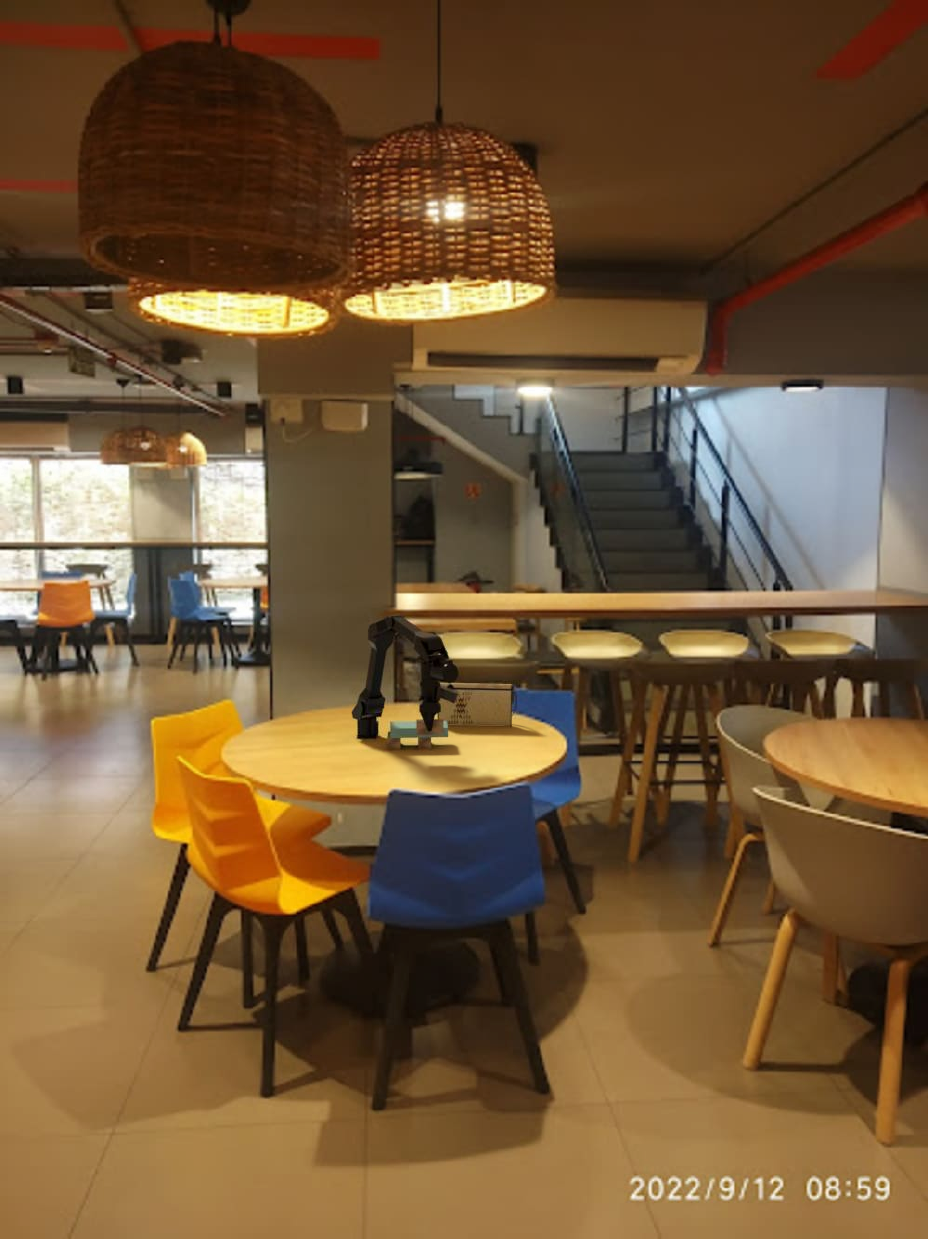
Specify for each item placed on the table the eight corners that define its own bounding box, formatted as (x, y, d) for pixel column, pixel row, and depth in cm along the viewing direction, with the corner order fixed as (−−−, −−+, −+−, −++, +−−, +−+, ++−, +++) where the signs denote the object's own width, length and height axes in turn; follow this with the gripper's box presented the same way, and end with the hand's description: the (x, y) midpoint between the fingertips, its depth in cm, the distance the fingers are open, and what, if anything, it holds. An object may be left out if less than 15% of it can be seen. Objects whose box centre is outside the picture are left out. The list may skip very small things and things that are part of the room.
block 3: (418, 749, 278) (418, 737, 278) (417, 743, 286) (418, 730, 285) (431, 749, 278) (431, 737, 278) (430, 742, 286) (430, 730, 286)
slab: (390, 738, 277) (390, 728, 276) (390, 730, 285) (390, 721, 285) (448, 737, 278) (448, 727, 278) (446, 729, 287) (446, 720, 286)
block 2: (416, 734, 264) (416, 722, 263) (416, 731, 268) (416, 719, 267) (443, 734, 264) (443, 722, 264) (443, 731, 268) (443, 719, 268)
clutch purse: (517, 722, 313) (517, 680, 311) (516, 727, 306) (517, 684, 304) (432, 721, 315) (432, 679, 313) (430, 725, 308) (430, 683, 306)
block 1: (387, 750, 277) (387, 738, 277) (388, 743, 285) (387, 731, 285) (400, 750, 277) (400, 737, 277) (400, 743, 285) (400, 731, 285)
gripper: (458, 684, 255) (458, 737, 257) (455, 672, 273) (455, 721, 275) (419, 684, 254) (419, 737, 256) (418, 672, 273) (419, 722, 275)
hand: (429, 729), depth 266 cm, fingers closed on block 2, 4 cm apart
